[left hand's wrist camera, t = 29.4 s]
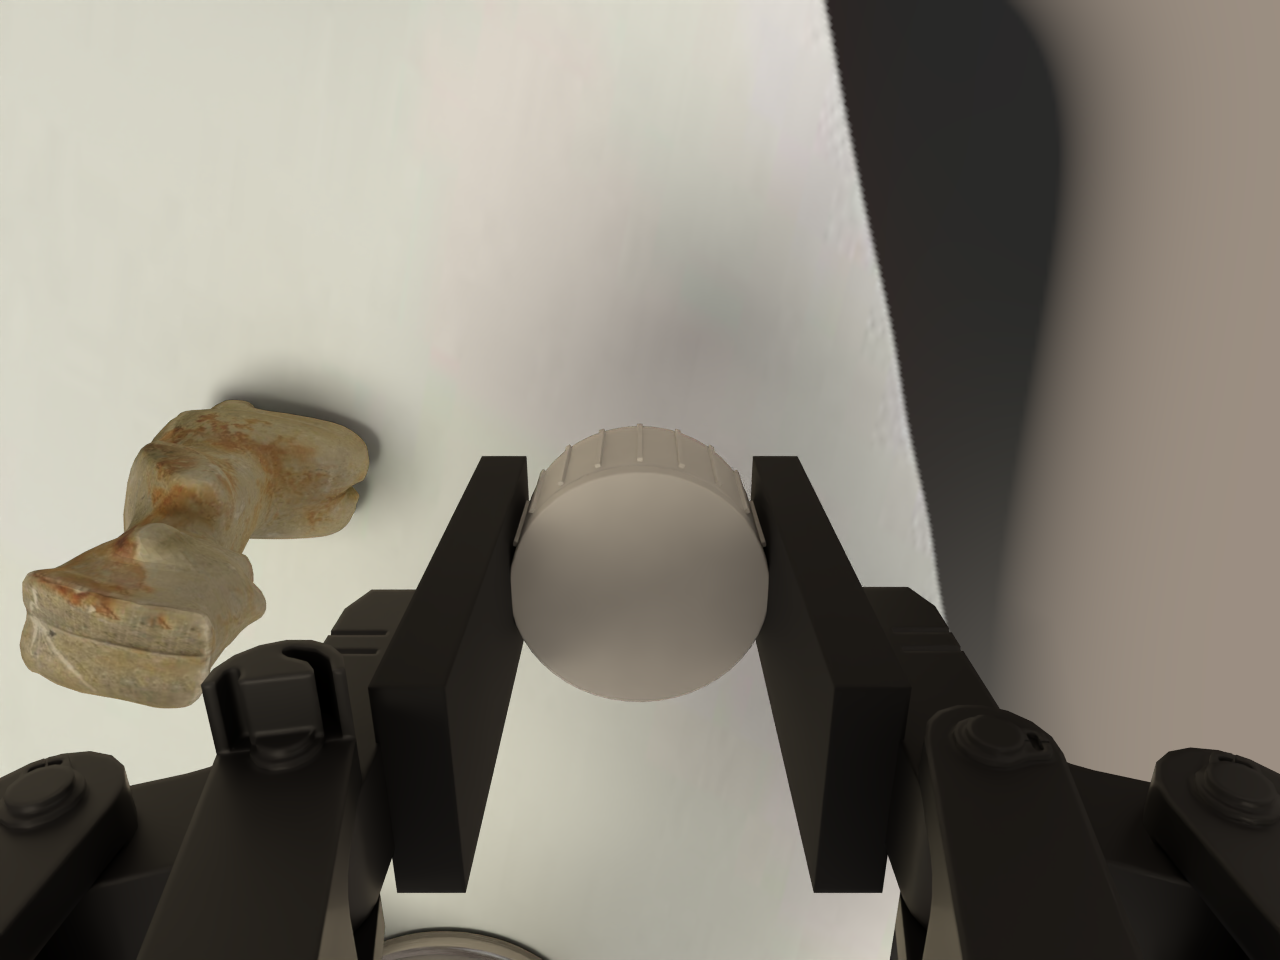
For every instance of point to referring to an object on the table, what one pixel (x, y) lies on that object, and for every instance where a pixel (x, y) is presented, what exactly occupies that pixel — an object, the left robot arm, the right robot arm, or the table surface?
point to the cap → (639, 566)
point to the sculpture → (188, 552)
